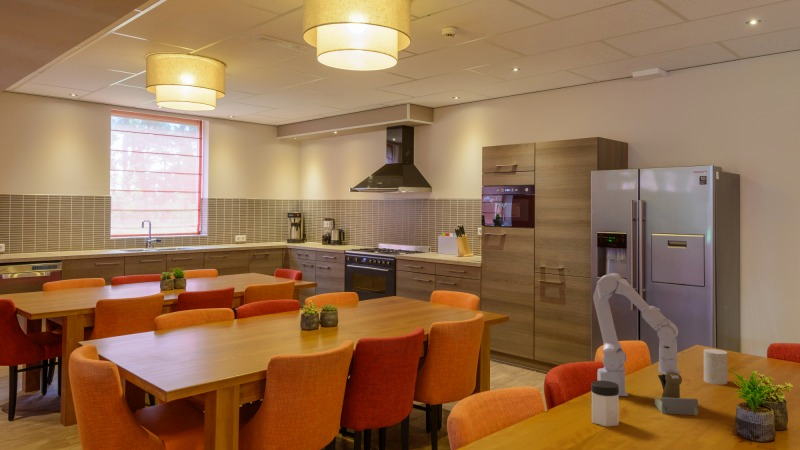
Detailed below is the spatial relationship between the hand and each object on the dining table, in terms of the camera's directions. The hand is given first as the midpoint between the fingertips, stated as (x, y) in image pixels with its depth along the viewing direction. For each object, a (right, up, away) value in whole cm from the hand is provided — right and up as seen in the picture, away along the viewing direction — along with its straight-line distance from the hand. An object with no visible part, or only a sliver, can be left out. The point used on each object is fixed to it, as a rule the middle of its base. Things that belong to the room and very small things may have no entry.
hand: (668, 396), depth 192 cm
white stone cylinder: (+31, -2, +25) cm, 40 cm away
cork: (0, -1, -2) cm, 3 cm away
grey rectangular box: (-1, -2, -8) cm, 8 cm away
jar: (-29, -2, -19) cm, 35 cm away
